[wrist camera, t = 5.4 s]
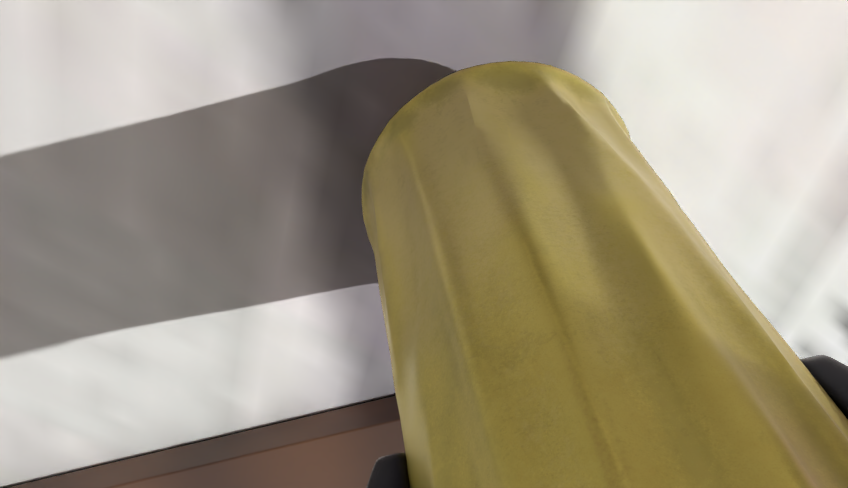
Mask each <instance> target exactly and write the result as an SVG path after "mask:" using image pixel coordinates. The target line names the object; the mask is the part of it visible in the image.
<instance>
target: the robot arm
mask: <svg viewBox="0 0 848 488" xmlns="http://www.w3.org/2000/svg"><path fill="white" fill-rule="evenodd" d="M800 360H801V362H802V363H803V364H804V365H805V367H806V368H807V369H808V370H809V372H810V373H811V374H812V375H813V377H814V378H815V379H816V380H817V382H818V383H819V384H820V385H821V387H822V388H823V389H824V390H825V392H826V393H827V394H828V395H829V397H830V398H831V399H832V400H833V402H834V403H835V404H836V405H837V407H838V408H839V409H840V411H841V412H842V413H843V414H844V416H845V417H846V418H847V419H848V366H846V365H844V364H842V363H840V362H838V361H836V360H835V359H833V358H831V357H828V356H824V355H817V356H813V357H809V358H804V359H800ZM366 488H410V482H409V475H408V467H407V459H406V454H405V453H404V452H399V453H395V454H391V455H386V456H382V457H380V458H378V459H377V460H376V462H375V464H374V467H373V469H372V472H371V475H370V478H369V480H368V483H367V486H366Z"/></svg>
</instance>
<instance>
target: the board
mask: <svg viewBox="0 0 848 488" xmlns="http://www.w3.org/2000/svg"><path fill="white" fill-rule="evenodd" d="M399 452H404V453H405V447H404V440H403V433H402V427H401V420H400V414H399V409H398V404H397V398H396V396H392V397H388V398H384V399H379V400H375V401H371V402H367V403H363V404H358V405H354V406H350V407H346V408H341V409H337V410H333V411H329V412H324V413H320V414H316V415H312V416H308V417H303V418H299V419H295V420H291V421H286V422H282V423H278V424H274V425H270V426H265V427H261V428H257V429H253V430H248V431H244V432H240V433H236V434H232V435H227V436H223V437H219V438H215V439H210V440H206V441H202V442H198V443H193V444H189V445H185V446H181V447H177V448H172V449H168V450H164V451H160V452H155V453H151V454H147V455H143V456H139V457H134V458H130V459H126V460H122V461H117V462H113V463H109V464H105V465H101V466H96V467H92V468H88V469H84V470H79V471H75V472H71V473H67V474H62V475H58V476H54V477H50V478H46V479H41V480H37V481H33V482H29V483H24V484H20V485H16V486H12V487H8V488H366V486H367V483H368V480H369V478H370V475H371V472H372V469H373V467H374V464H375V462H376V460H377V459H378V458H380V457H382V456H386V455H391V454H395V453H399Z"/></svg>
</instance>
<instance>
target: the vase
mask: <svg viewBox="0 0 848 488" xmlns="http://www.w3.org/2000/svg"><path fill="white" fill-rule="evenodd" d="M362 211H363V220H364V223H365V227H366V230H367V235H368V238H369V241H370V243H371V245H372V248H373V252H374V256H375V261H376V269H377V277H378V284H379V290H380V296H381V302H382V309H383V315H384V321H385V327H386V332H387V338H388V344H389V350H390V355H391V364H392V372H393V380H394V386H395V392H396V398H397V404H398V409H399V414H400V420H401V427H402V433H403V440H404V447H405V454H406V459H407V467H408V475H409V482H410V488H848V419H847V418H846V417H845V416H844V414H843V413H842V412H841V411H840V409H839V408H838V407H837V405H836V404H835V403H834V402H833V400H832V399H831V398H830V397H829V395H828V394H827V393H826V392H825V390H824V389H823V388H822V387H821V385H820V384H819V383H818V382H817V380H816V379H815V378H814V377H813V375H812V374H811V373H810V372H809V370H808V369H807V368H806V367H805V365H804V364H803V363H802V362H801V360H800V359H799V358H798V357H797V355H796V354H795V353H794V352H793V350H792V349H791V348H790V347H789V345H788V344H787V343H786V342H785V340H784V339H783V338H782V337H781V336H780V334H779V333H778V332H777V331H776V330H775V328H774V327H773V326H772V325H771V324H770V322H769V321H768V320H767V319H766V318H765V316H764V315H763V314H762V313H761V312H760V310H759V309H758V308H757V307H756V306H755V304H754V303H753V302H752V301H751V300H750V298H749V297H748V296H747V295H746V294H745V292H744V291H743V290H742V289H741V287H740V286H739V285H738V284H737V283H736V281H735V280H734V279H733V277H732V276H731V275H730V274H729V272H728V271H727V270H726V268H725V267H724V266H723V264H722V263H721V262H720V261H719V259H718V258H717V256H716V255H715V254H714V252H713V251H712V250H711V248H710V247H709V245H708V244H707V243H706V241H705V240H704V238H703V237H702V236H701V234H700V233H699V232H698V230H697V229H696V228H695V226H694V225H693V223H692V222H691V221H690V220H689V218H688V217H687V216H686V214H685V213H684V212H683V211H682V209H681V208H680V206H679V205H678V203H677V202H676V200H675V199H674V197H673V196H672V194H671V193H670V191H669V190H668V189H667V187H666V186H665V185H664V183H663V182H662V181H661V179H660V178H659V177H658V175H657V174H656V173H655V172H654V170H653V169H652V168H651V166H650V165H649V164H648V162H647V161H646V160H645V158H644V157H643V156H642V154H641V153H640V151H639V150H638V149H637V147H636V146H635V145H634V143H633V142H632V141H631V140H630V135H629V132H628V130H627V128H626V126H625V124H624V122H623V120H622V119H621V117H620V116H619V114H618V113H617V111H616V110H615V108H614V107H613V106H612V104H611V103H610V102H609V101H608V99H607V98H606V97H605V96H604V95H603V94H602V93H601V92H600V91H598V90H597V89H596V88H595V87H593V86H592V85H591V84H589V83H587V82H586V81H584V80H583V79H581V78H579V77H577V76H575V75H573V74H571V73H569V72H567V71H564V70H562V69H559V68H556V67H553V66H550V65H545V64H541V63H534V62H518V61H507V62H496V63H488V64H483V65H477V66H473V67H470V68H466V69H462V70H459V71H457V72H455V73H452V74H450V75H448V76H446V77H444V78H442V79H441V80H439V81H437V82H435V83H434V84H432V85H430V86H429V87H428V88H426V89H425V90H423V91H422V92H421V93H419V94H418V95H416V96H415V97H414V98H413V99H411V100H410V101H409V102H408V103H407V104H405V105H404V106H403V107H402V108H400V110H399V111H398V112H397V113H396V114H395V115H394V116H393V117H392V118H391V119H390V121H389V122H388V124H387V125H386V127H385V128H384V129H383V131H382V132H381V134H380V135H379V137H378V139H377V141H376V143H375V145H374V147H373V149H372V150H371V152H370V155H369V158H368V160H367V163H366V166H365V169H364V175H363V181H362Z"/></svg>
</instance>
